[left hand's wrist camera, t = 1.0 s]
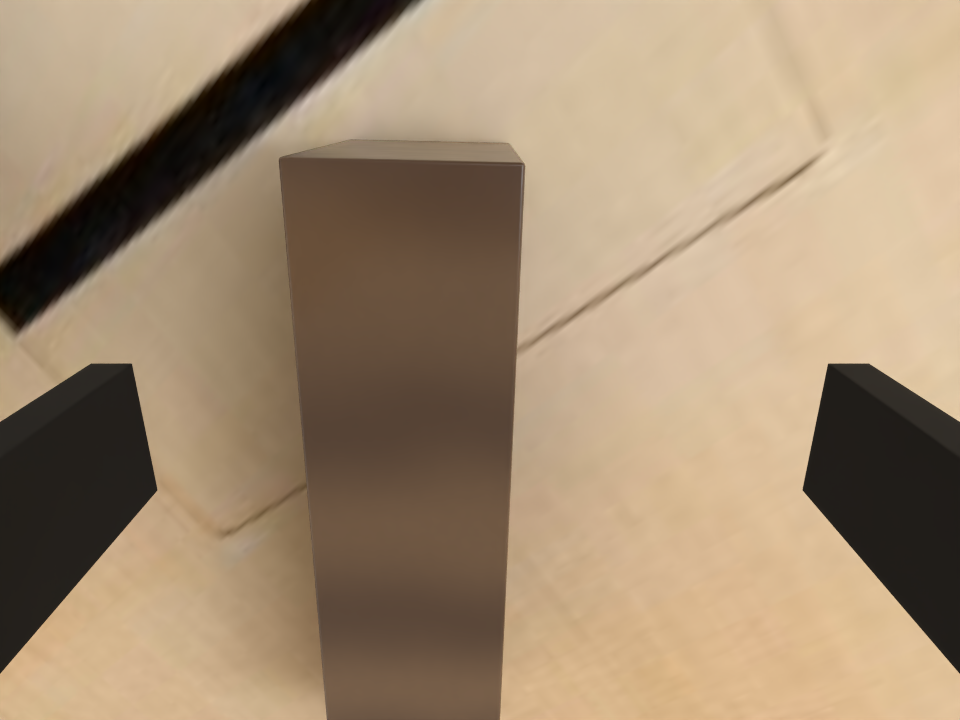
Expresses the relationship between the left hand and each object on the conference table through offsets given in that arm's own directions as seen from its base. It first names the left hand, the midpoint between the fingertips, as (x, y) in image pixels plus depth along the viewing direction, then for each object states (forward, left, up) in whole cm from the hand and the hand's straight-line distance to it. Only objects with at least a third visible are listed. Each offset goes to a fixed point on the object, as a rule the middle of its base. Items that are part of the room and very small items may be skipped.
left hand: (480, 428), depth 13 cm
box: (+9, -2, -15) cm, 18 cm away
